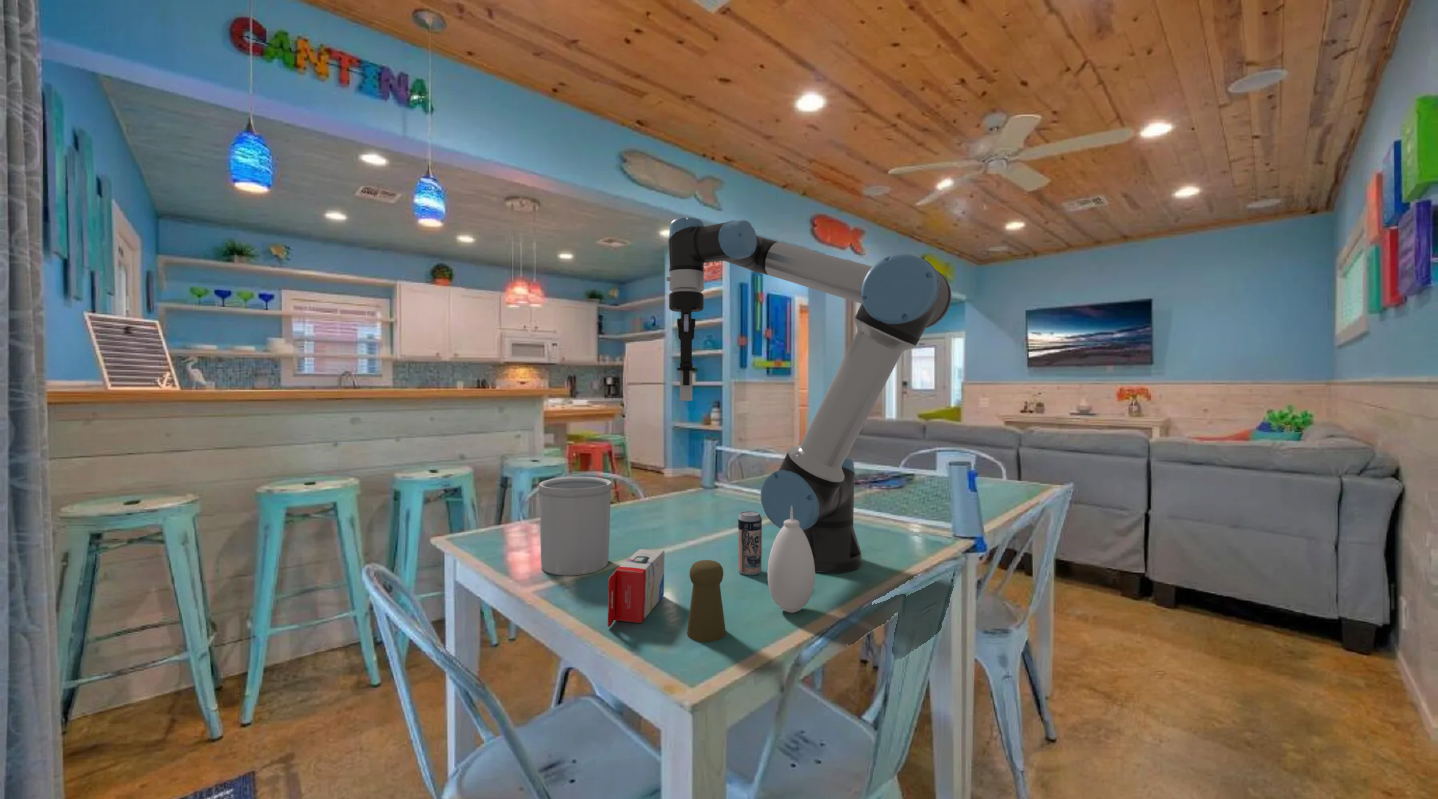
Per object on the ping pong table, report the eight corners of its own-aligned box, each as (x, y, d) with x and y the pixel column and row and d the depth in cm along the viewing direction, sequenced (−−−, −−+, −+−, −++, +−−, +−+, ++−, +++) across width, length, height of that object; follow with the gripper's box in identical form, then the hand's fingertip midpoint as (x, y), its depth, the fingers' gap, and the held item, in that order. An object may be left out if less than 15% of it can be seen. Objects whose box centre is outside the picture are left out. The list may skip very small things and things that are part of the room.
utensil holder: (587, 549, 127) (586, 473, 126) (626, 564, 117) (625, 482, 116) (526, 564, 116) (525, 481, 116) (563, 583, 106) (562, 492, 105)
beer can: (745, 577, 109) (745, 517, 109) (733, 570, 113) (733, 512, 113) (765, 574, 111) (766, 514, 111) (753, 566, 116) (754, 509, 115)
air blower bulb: (759, 613, 92) (760, 506, 92) (779, 598, 99) (780, 498, 98) (803, 624, 88) (804, 512, 88) (821, 607, 95) (822, 503, 94)
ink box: (664, 596, 100) (635, 633, 85) (638, 593, 101) (605, 629, 86) (665, 549, 99) (636, 579, 85) (639, 547, 100) (606, 576, 86)
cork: (686, 624, 88) (686, 556, 88) (723, 623, 89) (724, 555, 88) (687, 642, 82) (687, 569, 82) (727, 641, 83) (728, 568, 82)
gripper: (670, 296, 127) (670, 399, 128) (667, 287, 114) (667, 401, 115) (702, 297, 127) (702, 399, 128) (704, 287, 114) (704, 401, 115)
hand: (686, 400), depth 121 cm, fingers closed
